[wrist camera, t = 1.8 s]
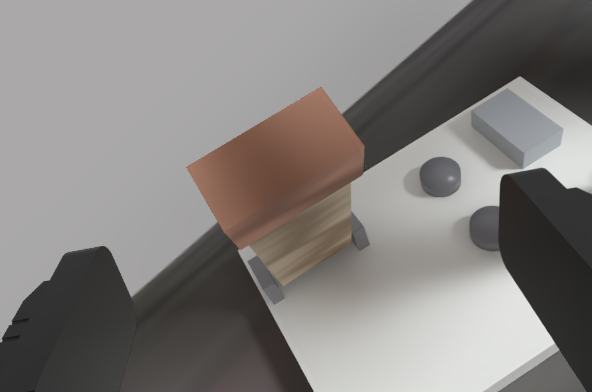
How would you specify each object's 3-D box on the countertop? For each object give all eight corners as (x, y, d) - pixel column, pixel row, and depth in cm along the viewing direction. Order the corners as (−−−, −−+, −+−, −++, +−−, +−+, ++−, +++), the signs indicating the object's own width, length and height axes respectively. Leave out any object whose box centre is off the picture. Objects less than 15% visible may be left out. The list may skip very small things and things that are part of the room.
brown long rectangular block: (335, 216, 35) (321, 86, 19) (358, 251, 34) (364, 146, 18) (263, 261, 34) (186, 167, 18) (285, 297, 33) (223, 232, 17)
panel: (518, 95, 40) (521, 52, 36) (719, 241, 30) (749, 200, 26) (247, 263, 38) (225, 234, 34) (365, 480, 28) (350, 467, 24)
